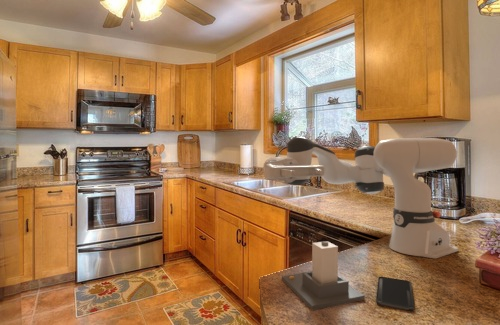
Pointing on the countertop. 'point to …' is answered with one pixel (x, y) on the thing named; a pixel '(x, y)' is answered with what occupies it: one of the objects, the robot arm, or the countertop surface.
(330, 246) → the cream square peg
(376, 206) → the countertop surface
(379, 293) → the phone
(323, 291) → the dock
